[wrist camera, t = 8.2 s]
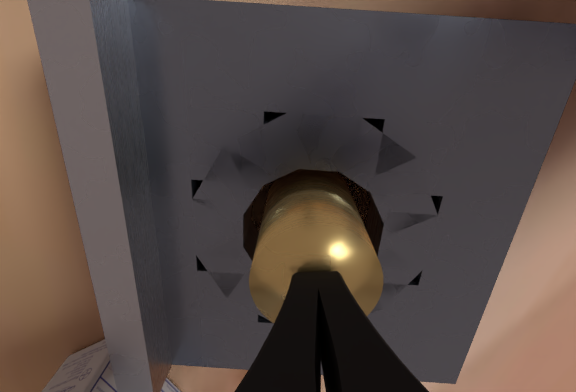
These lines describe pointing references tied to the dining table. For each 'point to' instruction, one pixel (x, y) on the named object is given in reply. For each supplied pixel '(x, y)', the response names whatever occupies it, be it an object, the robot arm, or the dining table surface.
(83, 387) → the medicine box
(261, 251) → the cylinder
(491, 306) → the dining table surface
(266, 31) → the jig
